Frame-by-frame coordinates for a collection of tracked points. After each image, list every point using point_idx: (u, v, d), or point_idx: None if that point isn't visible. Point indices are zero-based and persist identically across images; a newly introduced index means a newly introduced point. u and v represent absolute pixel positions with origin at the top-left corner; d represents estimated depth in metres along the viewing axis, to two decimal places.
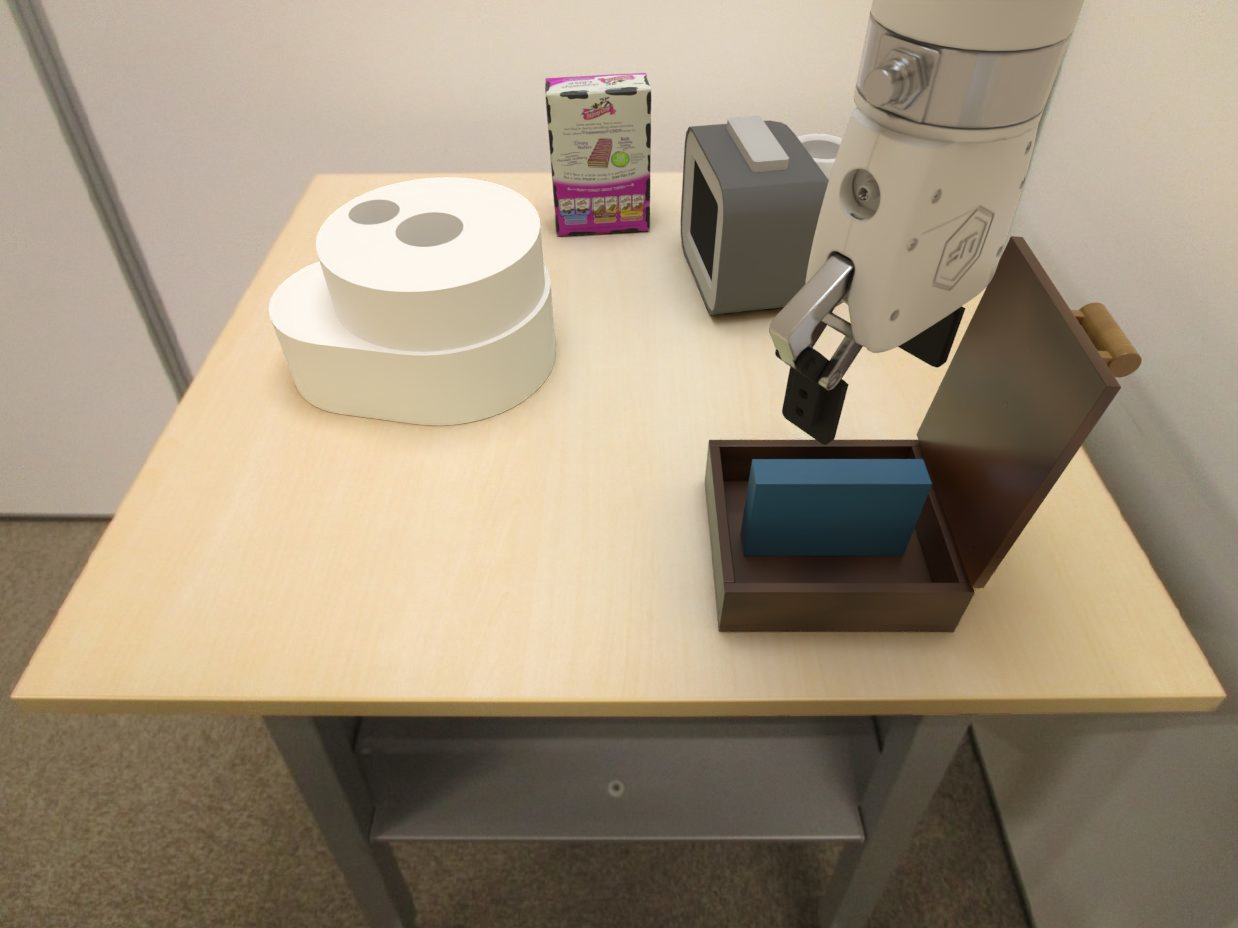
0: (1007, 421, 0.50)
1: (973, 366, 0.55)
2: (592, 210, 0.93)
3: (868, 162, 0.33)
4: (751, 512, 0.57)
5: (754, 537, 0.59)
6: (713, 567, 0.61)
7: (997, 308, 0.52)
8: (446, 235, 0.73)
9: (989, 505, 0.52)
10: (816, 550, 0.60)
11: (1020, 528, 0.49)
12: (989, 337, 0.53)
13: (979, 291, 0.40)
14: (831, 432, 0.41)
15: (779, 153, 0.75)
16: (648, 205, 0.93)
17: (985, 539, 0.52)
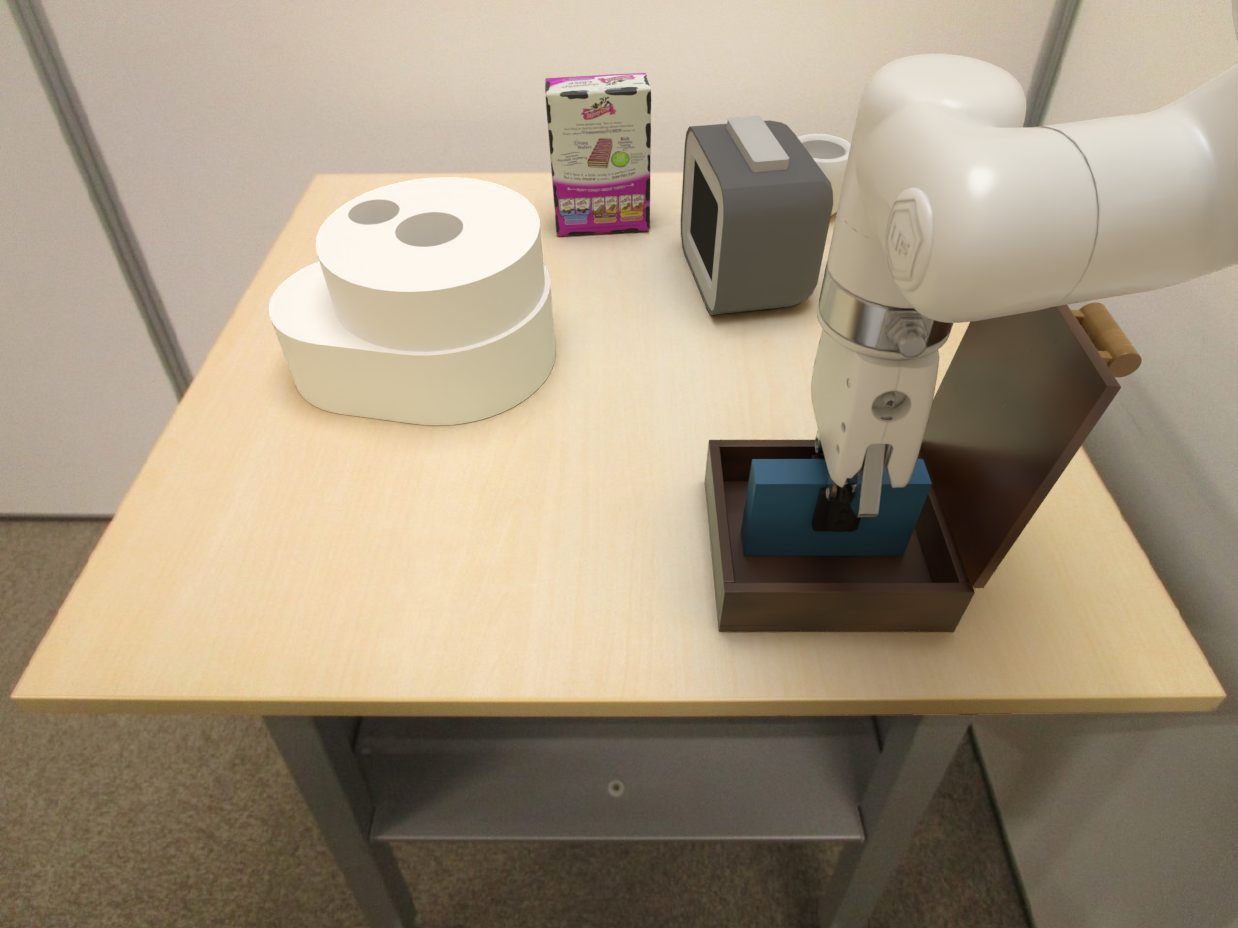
0: (1007, 421, 0.50)
1: (973, 366, 0.55)
2: (592, 210, 0.93)
3: (895, 386, 0.45)
4: (751, 512, 0.57)
5: (754, 537, 0.59)
6: (713, 567, 0.61)
7: None
8: (446, 235, 0.73)
9: (989, 505, 0.52)
10: (816, 549, 0.60)
11: (1020, 528, 0.49)
12: (989, 337, 0.53)
13: None
14: (859, 521, 0.57)
15: (779, 153, 0.75)
16: (648, 205, 0.93)
17: (985, 539, 0.52)
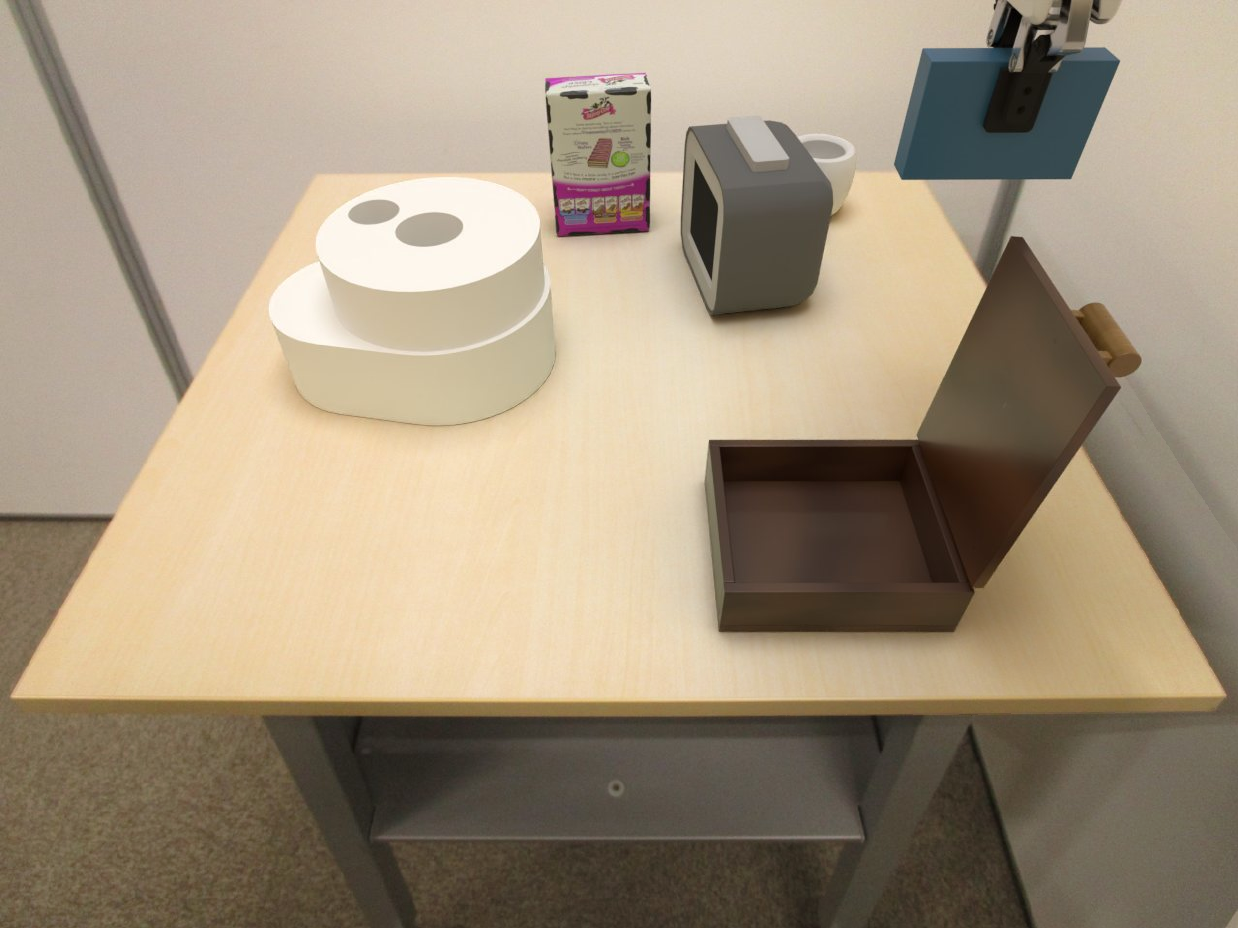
0: (1007, 421, 0.50)
1: (973, 366, 0.55)
2: (592, 210, 0.93)
3: None
4: (919, 109, 0.54)
5: (917, 149, 0.56)
6: (713, 567, 0.61)
7: (997, 308, 0.52)
8: (446, 235, 0.73)
9: (989, 505, 0.52)
10: (979, 170, 0.57)
11: (1020, 528, 0.49)
12: (989, 337, 0.53)
13: None
14: (1036, 116, 0.54)
15: (779, 153, 0.75)
16: (648, 205, 0.93)
17: (985, 539, 0.52)
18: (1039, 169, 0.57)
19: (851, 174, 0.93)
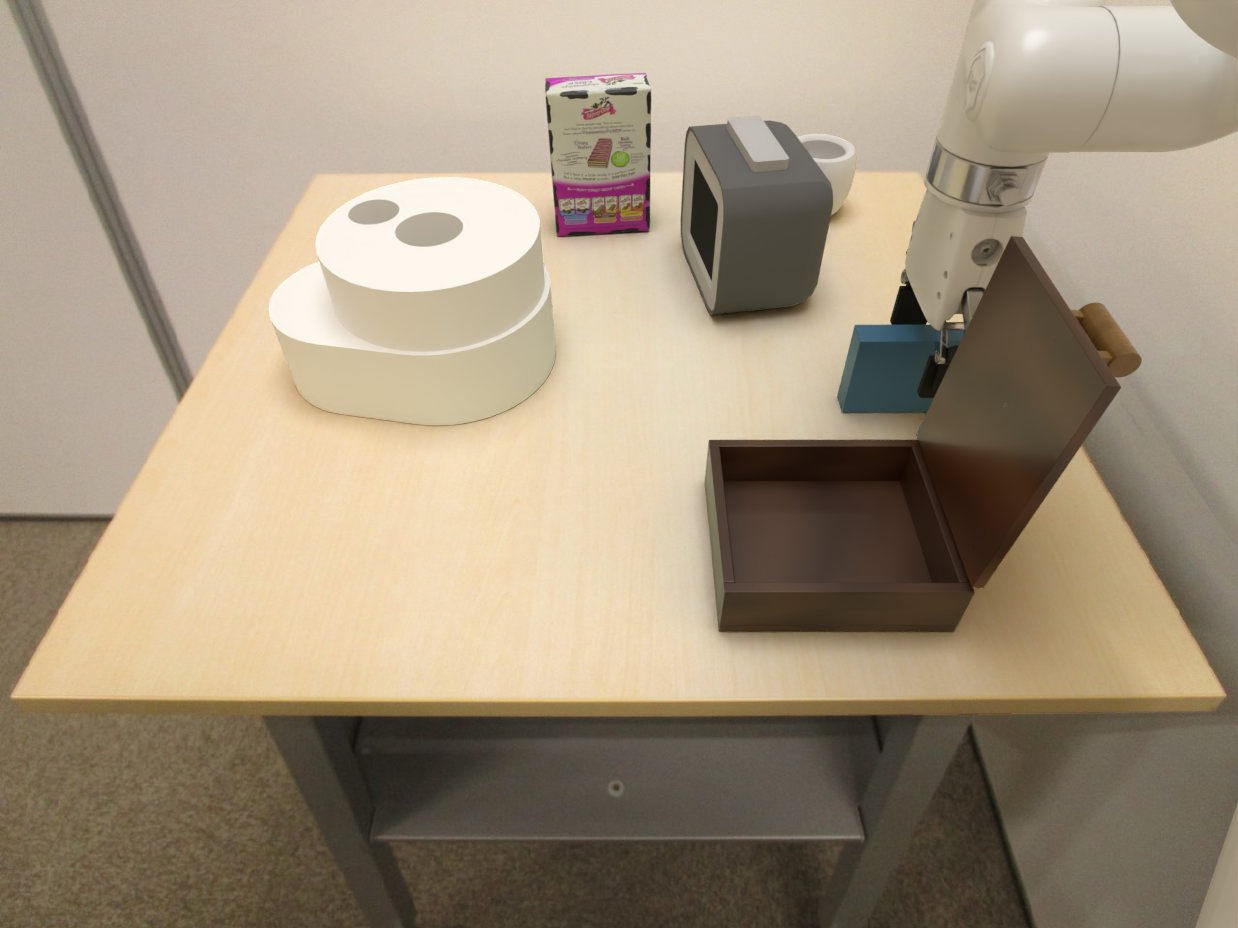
0: (1007, 421, 0.50)
1: (973, 366, 0.55)
2: (592, 210, 0.93)
3: (991, 234, 0.56)
4: (853, 369, 0.70)
5: (853, 394, 0.72)
6: (713, 567, 0.61)
7: (997, 308, 0.52)
8: (446, 235, 0.73)
9: (989, 505, 0.52)
10: (902, 406, 0.73)
11: (1020, 528, 0.49)
12: (989, 337, 0.53)
13: None
14: None
15: (779, 153, 0.75)
16: (648, 205, 0.93)
17: (985, 539, 0.52)
18: None
19: (851, 174, 0.93)
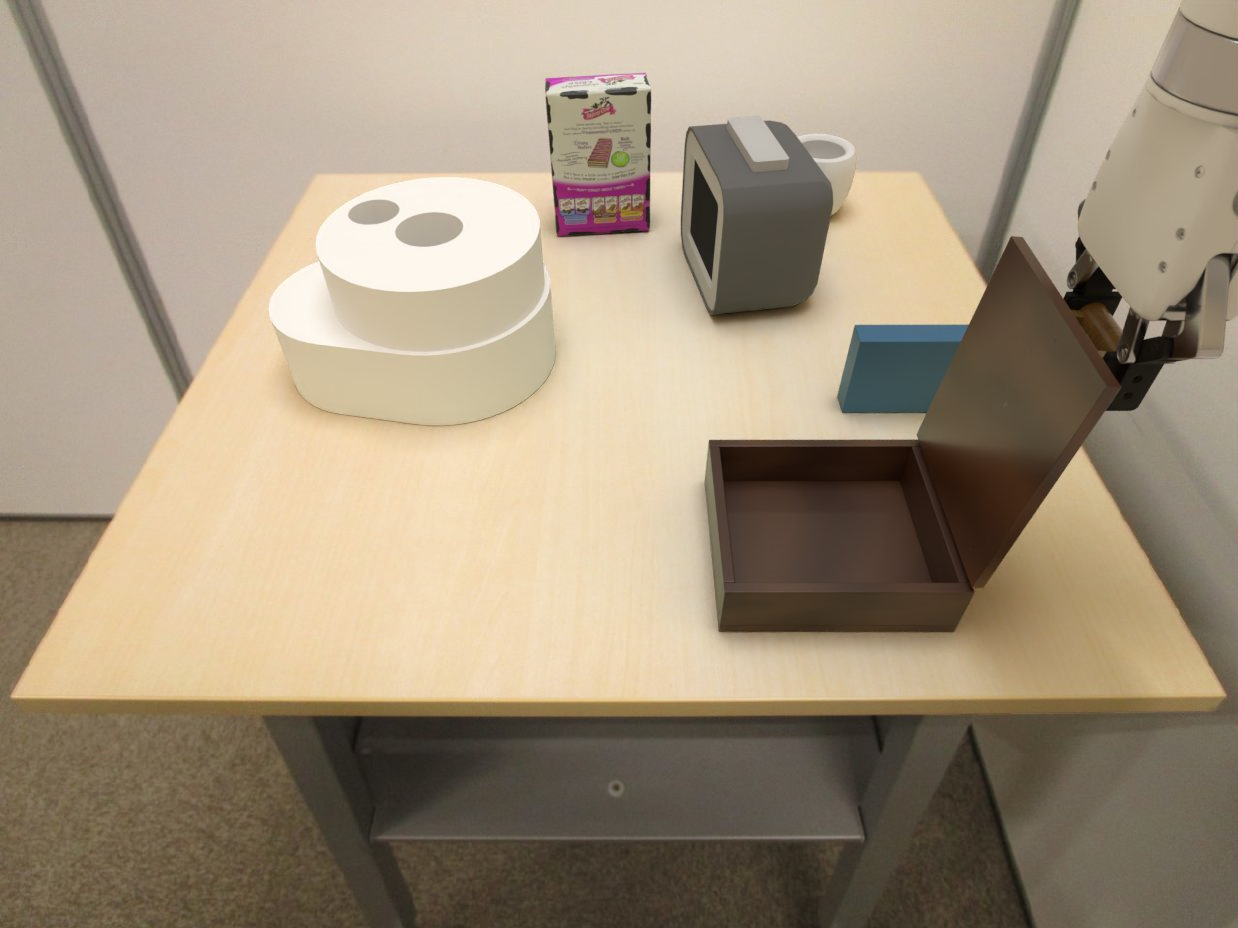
0: (1007, 421, 0.50)
1: (973, 366, 0.55)
2: (592, 210, 0.93)
3: None
4: (853, 369, 0.70)
5: (853, 394, 0.72)
6: (713, 567, 0.61)
7: (997, 308, 0.52)
8: (446, 235, 0.73)
9: (989, 505, 0.52)
10: (902, 406, 0.73)
11: (1020, 528, 0.49)
12: (989, 337, 0.53)
13: None
14: (1143, 397, 0.47)
15: (779, 153, 0.75)
16: (648, 205, 0.93)
17: (985, 539, 0.52)
18: None
19: (851, 174, 0.93)
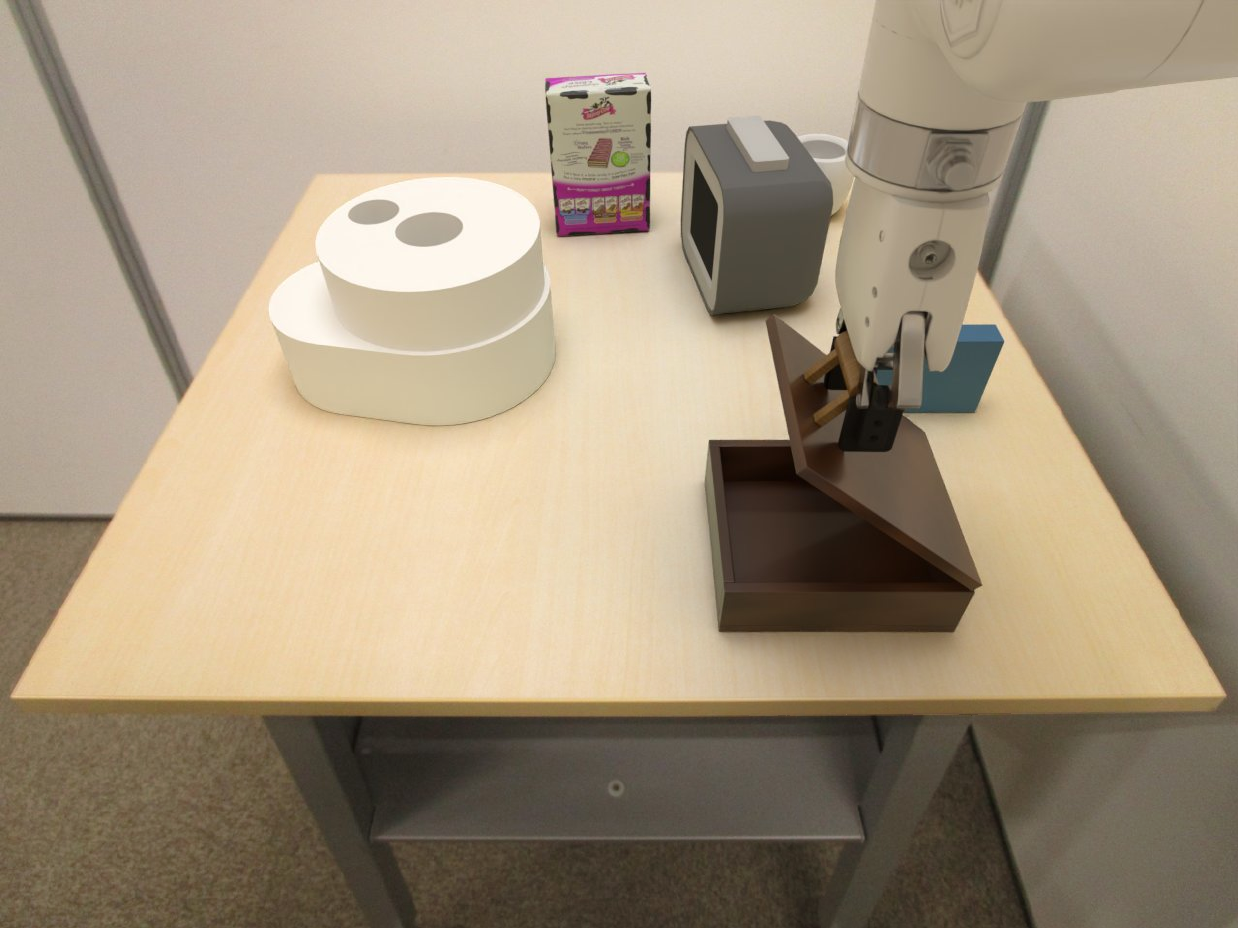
0: None
1: None
2: (592, 210, 0.93)
3: (937, 233, 0.38)
4: None
5: None
6: (713, 567, 0.61)
7: None
8: (446, 235, 0.73)
9: None
10: None
11: (923, 549, 0.50)
12: None
13: None
14: (894, 439, 0.49)
15: (779, 153, 0.75)
16: (648, 205, 0.93)
17: None
18: (949, 406, 0.73)
19: (851, 174, 0.93)
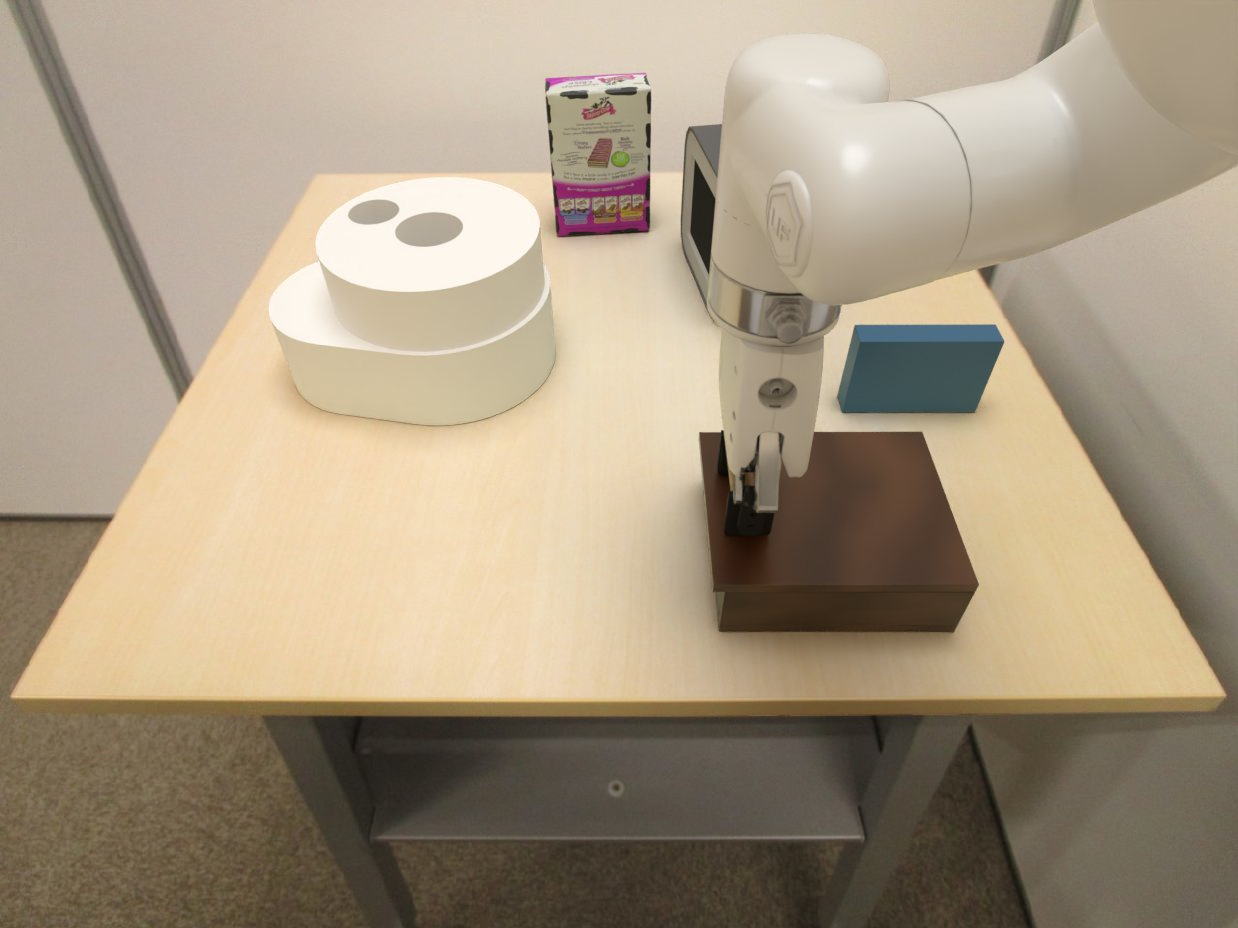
0: None
1: None
2: (592, 210, 0.93)
3: (779, 373, 0.44)
4: (853, 369, 0.70)
5: (853, 394, 0.72)
6: None
7: None
8: (446, 235, 0.73)
9: None
10: (902, 406, 0.73)
11: (883, 587, 0.53)
12: None
13: None
14: (771, 525, 0.55)
15: None
16: (648, 205, 0.93)
17: None
18: (949, 406, 0.73)
19: None
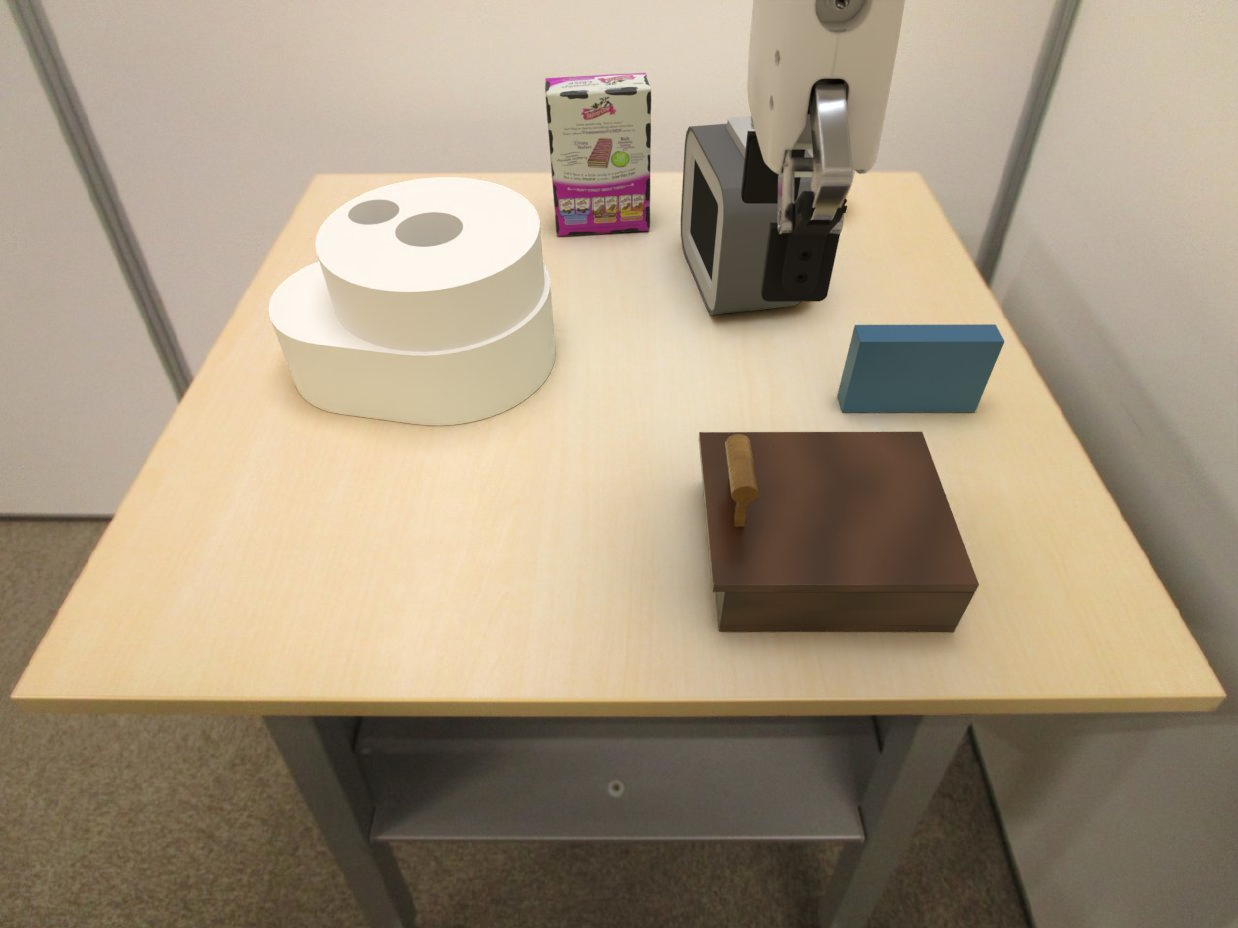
0: None
1: None
2: (592, 210, 0.93)
3: None
4: (853, 369, 0.70)
5: (853, 394, 0.72)
6: None
7: None
8: (446, 235, 0.73)
9: None
10: (902, 406, 0.73)
11: (883, 587, 0.53)
12: None
13: None
14: (829, 282, 0.39)
15: None
16: (648, 205, 0.93)
17: None
18: (949, 406, 0.73)
19: None
